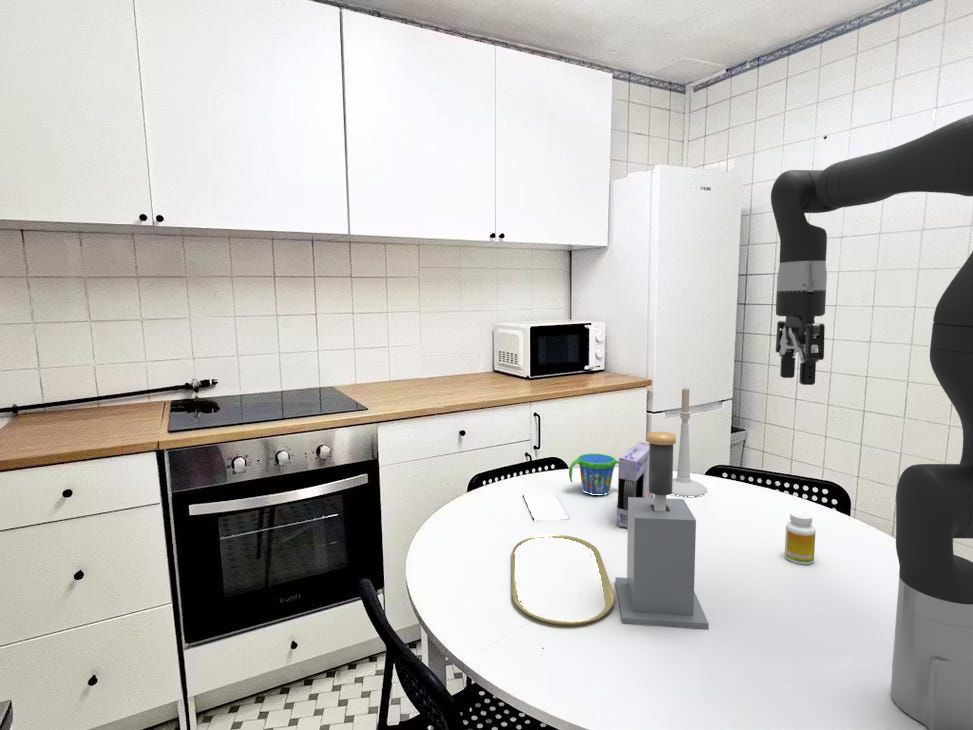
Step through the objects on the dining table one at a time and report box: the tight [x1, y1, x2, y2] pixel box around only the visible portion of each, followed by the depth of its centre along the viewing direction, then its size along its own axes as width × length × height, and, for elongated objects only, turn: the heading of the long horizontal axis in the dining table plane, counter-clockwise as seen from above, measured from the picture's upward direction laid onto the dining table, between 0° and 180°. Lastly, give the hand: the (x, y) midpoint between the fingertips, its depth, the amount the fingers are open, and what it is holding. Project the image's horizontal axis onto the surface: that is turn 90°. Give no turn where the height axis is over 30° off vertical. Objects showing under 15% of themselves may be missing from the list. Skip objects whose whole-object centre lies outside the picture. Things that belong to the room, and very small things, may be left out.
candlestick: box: [672, 387, 708, 497], centre depth 157 cm, size 13×13×30 cm
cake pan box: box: [616, 440, 654, 529], centre depth 139 cm, size 19×5×18 cm, turn 148°
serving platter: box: [511, 534, 616, 627], centre depth 110 cm, size 19×35×2 cm, turn 177°
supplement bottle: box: [784, 511, 816, 565], centre depth 115 cm, size 5×5×10 cm
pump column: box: [614, 497, 710, 630], centre depth 98 cm, size 14×14×18 cm
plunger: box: [646, 431, 677, 511], centre depth 97 cm, size 5×5×27 cm
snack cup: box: [568, 453, 619, 494], centre depth 157 cm, size 16×10×10 cm
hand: (796, 380), depth 97 cm, fingers open, 8 cm apart
